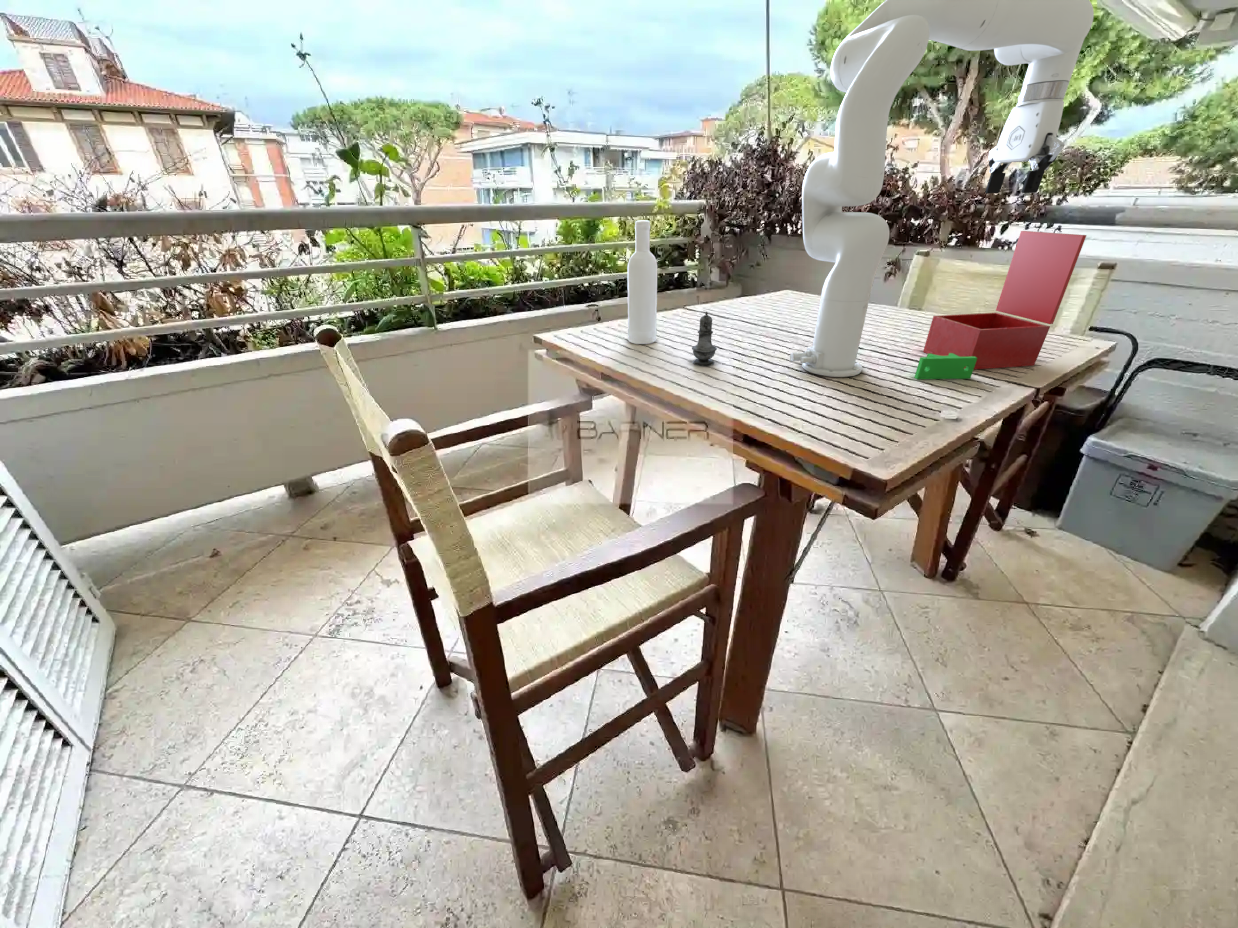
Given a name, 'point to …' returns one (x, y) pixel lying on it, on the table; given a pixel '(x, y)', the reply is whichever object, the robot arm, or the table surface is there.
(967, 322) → the red hinged box
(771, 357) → the table surface
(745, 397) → the table surface
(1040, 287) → the red box lid
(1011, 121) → the robot arm
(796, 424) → the table surface
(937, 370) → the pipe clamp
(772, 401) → the table surface
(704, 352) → the salt shaker
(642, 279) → the bottle
